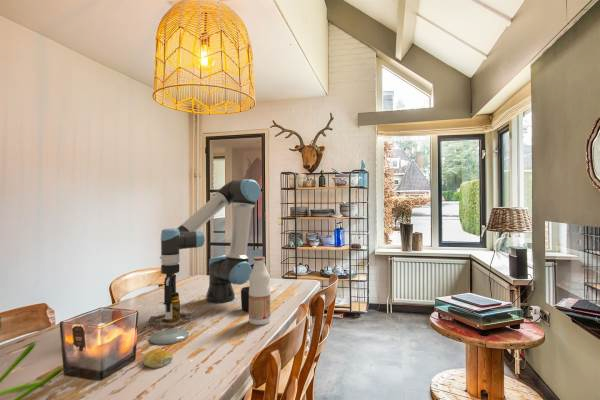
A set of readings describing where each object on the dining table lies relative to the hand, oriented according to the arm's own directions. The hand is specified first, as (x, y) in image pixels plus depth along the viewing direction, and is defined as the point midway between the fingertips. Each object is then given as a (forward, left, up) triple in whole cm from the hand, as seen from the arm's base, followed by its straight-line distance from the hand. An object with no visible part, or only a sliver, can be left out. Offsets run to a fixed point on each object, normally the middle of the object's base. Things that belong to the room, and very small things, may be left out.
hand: (170, 316), depth 153 cm
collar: (0, 0, -2) cm, 2 cm away
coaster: (-2, +20, -2) cm, 20 cm away
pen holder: (-36, -8, -2) cm, 37 cm away
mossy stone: (-1, +41, -2) cm, 41 cm away
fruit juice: (-38, +11, -2) cm, 40 cm away
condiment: (0, 0, -2) cm, 2 cm away
